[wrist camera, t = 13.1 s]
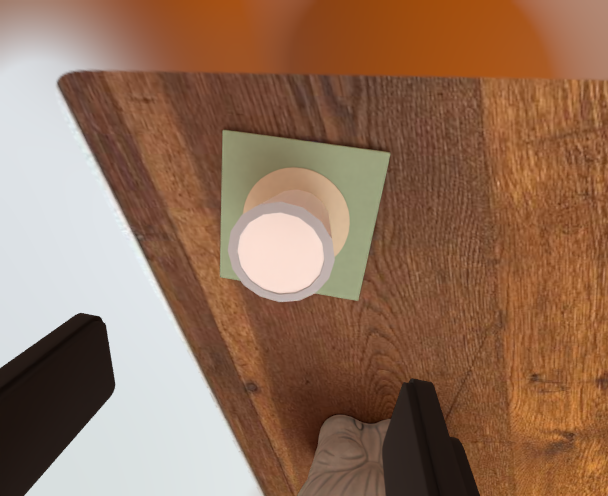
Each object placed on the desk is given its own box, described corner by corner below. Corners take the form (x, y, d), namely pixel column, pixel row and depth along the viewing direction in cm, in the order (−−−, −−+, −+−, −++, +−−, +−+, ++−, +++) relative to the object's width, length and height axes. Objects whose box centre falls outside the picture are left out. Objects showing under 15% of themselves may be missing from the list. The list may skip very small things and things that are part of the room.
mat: (225, 129, 25) (221, 129, 24) (389, 152, 24) (391, 152, 23) (222, 274, 30) (218, 278, 29) (358, 297, 29) (358, 302, 28)
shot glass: (255, 178, 25) (224, 198, 19) (341, 184, 24) (339, 206, 18) (256, 256, 28) (229, 297, 21) (334, 264, 27) (330, 308, 20)
